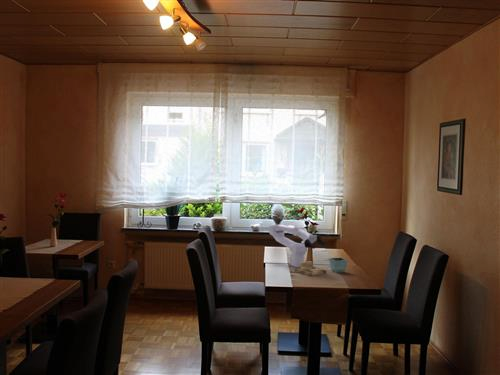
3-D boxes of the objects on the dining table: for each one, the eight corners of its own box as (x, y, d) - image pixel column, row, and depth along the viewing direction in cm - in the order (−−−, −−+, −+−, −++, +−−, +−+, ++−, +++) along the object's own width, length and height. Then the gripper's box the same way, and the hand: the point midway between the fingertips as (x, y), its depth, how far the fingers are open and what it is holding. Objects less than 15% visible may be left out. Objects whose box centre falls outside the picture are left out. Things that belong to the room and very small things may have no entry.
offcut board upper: (309, 272, 299) (309, 270, 299) (316, 270, 304) (316, 268, 304) (314, 273, 296) (314, 271, 296) (321, 271, 302) (321, 269, 302)
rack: (294, 273, 304) (294, 268, 304) (310, 270, 313) (310, 266, 313) (310, 277, 293) (310, 272, 293) (326, 274, 302) (326, 270, 302)
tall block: (299, 271, 304) (299, 262, 304) (309, 270, 310) (309, 260, 309) (302, 272, 302) (302, 263, 302) (312, 270, 308) (312, 261, 308)
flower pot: (334, 274, 303) (335, 260, 303) (328, 271, 312) (329, 257, 311) (347, 274, 306) (347, 260, 305) (341, 271, 314) (341, 257, 314)
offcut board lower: (306, 273, 299) (306, 271, 299) (317, 271, 305) (317, 270, 305) (311, 275, 295) (311, 273, 295) (322, 273, 301) (323, 271, 301)
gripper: (297, 234, 309) (310, 243, 299) (315, 228, 316) (328, 236, 305) (297, 243, 312) (309, 253, 301) (315, 237, 319) (328, 246, 308)
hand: (319, 245), depth 303 cm, fingers open, 7 cm apart
